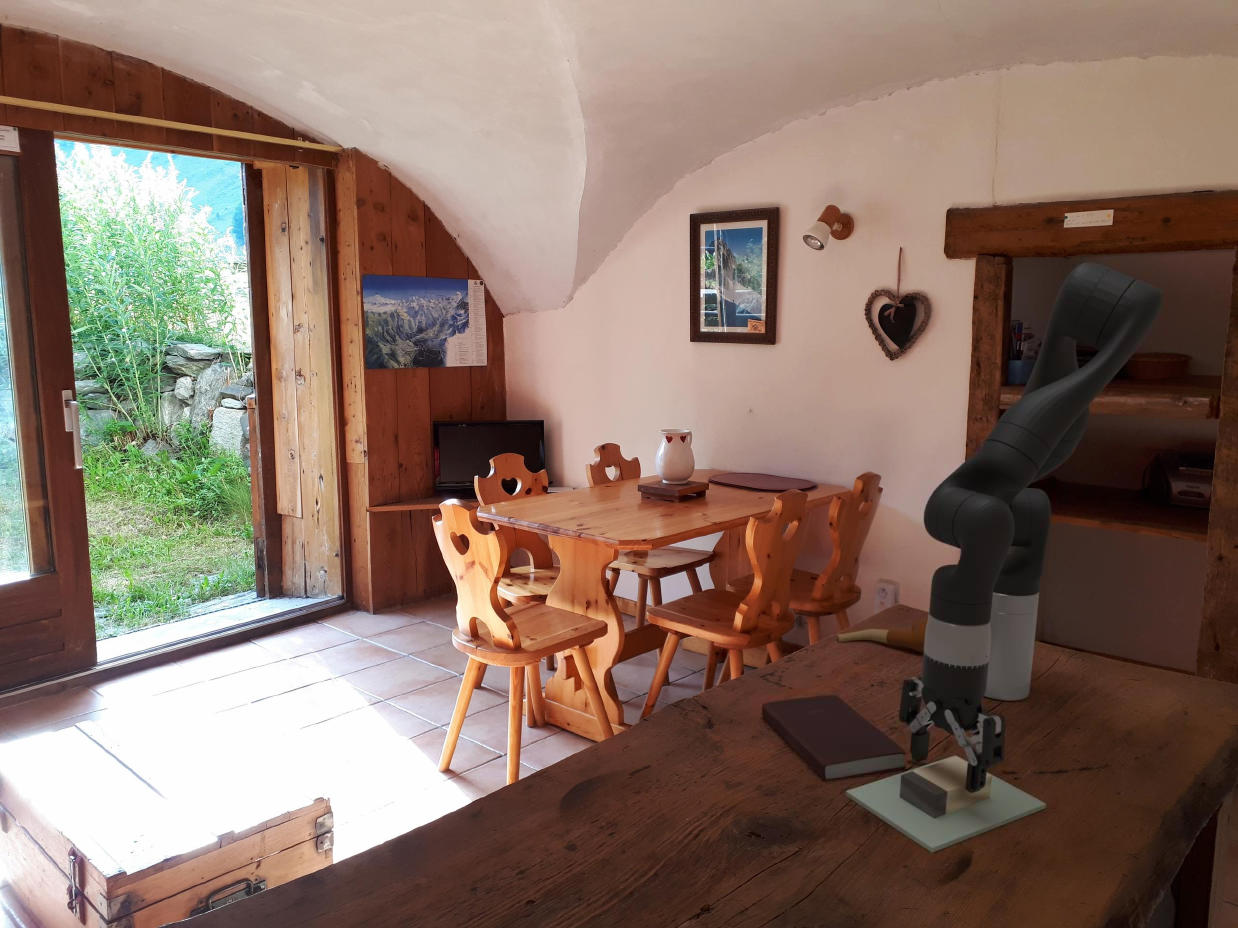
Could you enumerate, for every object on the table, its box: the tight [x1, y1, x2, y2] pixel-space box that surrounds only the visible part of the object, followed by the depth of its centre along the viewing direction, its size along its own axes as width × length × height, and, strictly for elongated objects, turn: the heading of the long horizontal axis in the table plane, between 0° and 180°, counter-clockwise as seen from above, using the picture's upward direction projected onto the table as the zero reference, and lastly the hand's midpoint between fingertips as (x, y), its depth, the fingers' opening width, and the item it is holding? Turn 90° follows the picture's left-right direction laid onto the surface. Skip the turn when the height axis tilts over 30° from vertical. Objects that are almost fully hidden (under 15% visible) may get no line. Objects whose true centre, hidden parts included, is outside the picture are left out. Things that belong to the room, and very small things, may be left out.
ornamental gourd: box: [836, 618, 928, 654], centre depth 169 cm, size 7×18×6 cm, turn 81°
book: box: [761, 694, 907, 782], centre depth 132 cm, size 12×19×3 cm, turn 16°
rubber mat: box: [845, 754, 1047, 854], centre depth 117 cm, size 14×20×1 cm
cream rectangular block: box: [900, 756, 993, 818], centre depth 117 cm, size 10×6×3 cm, turn 120°
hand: (945, 774), depth 117 cm, fingers open, 8 cm apart
